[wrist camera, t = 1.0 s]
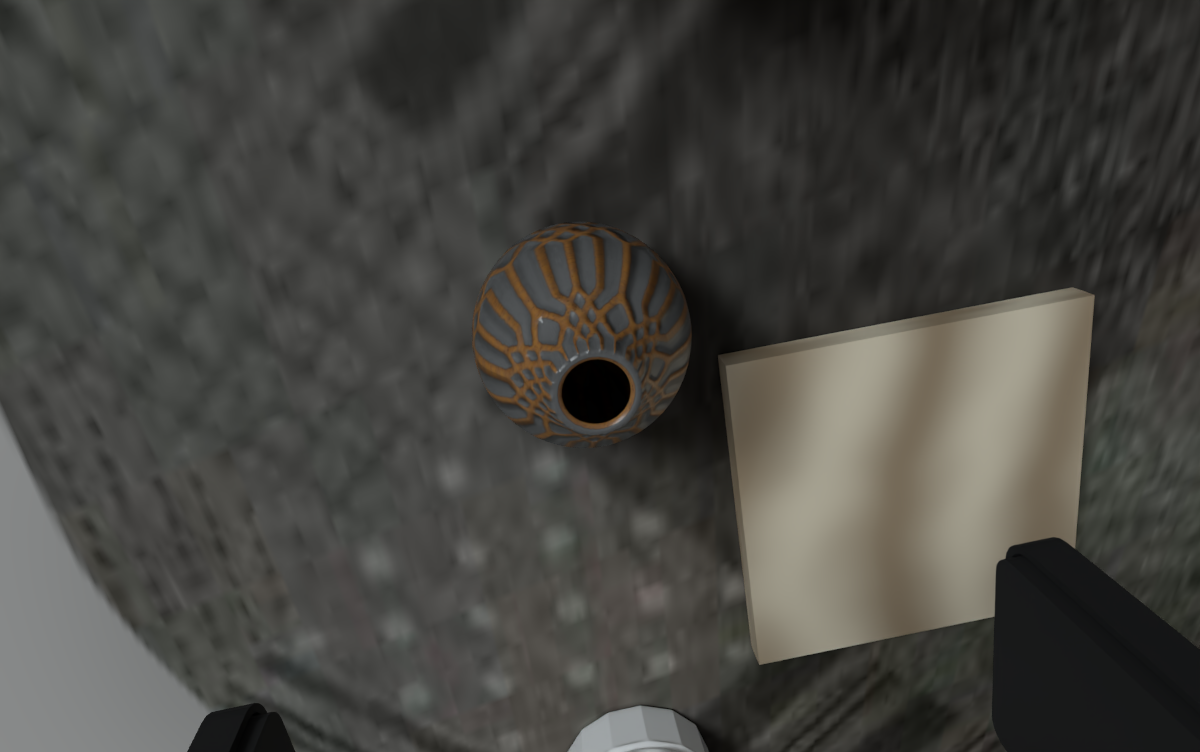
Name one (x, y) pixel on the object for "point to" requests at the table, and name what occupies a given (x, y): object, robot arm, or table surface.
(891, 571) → the birch pad
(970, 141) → the table surface
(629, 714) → the white cup
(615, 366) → the vase
